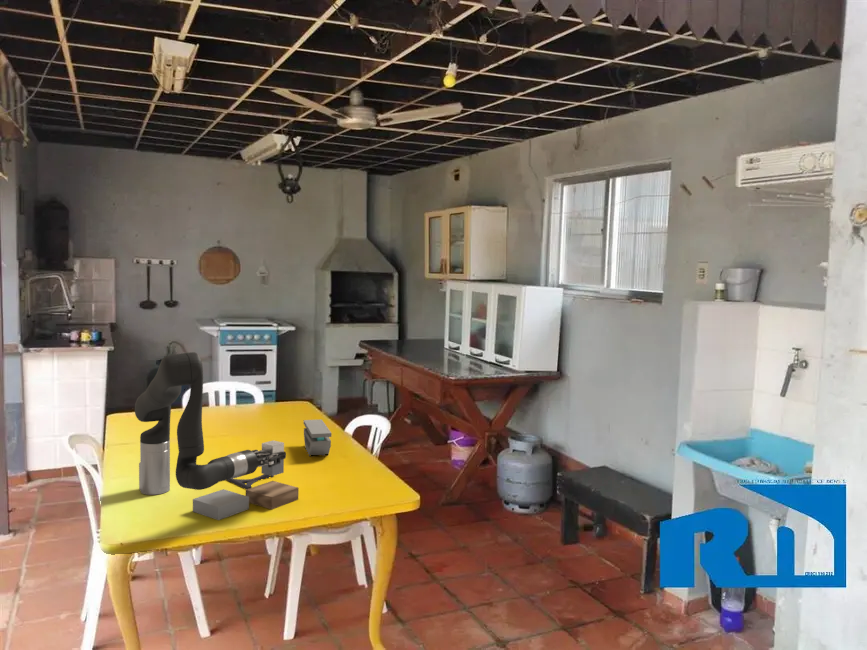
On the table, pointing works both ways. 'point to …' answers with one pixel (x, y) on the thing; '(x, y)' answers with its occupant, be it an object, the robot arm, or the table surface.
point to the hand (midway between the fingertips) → (278, 453)
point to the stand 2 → (272, 494)
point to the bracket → (247, 481)
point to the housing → (273, 448)
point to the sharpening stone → (316, 437)
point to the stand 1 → (220, 504)
